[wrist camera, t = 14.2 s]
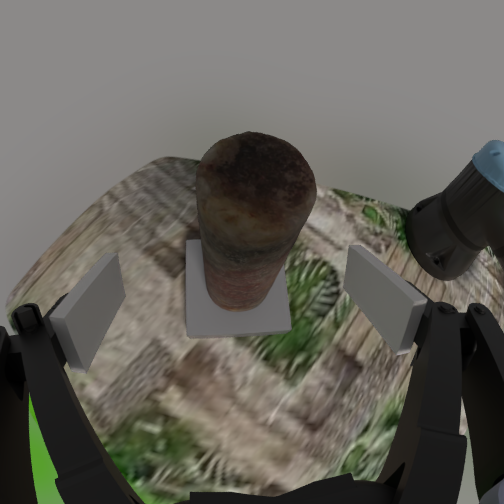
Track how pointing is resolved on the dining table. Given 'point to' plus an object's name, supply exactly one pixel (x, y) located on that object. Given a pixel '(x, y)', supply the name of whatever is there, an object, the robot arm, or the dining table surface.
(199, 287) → the stand
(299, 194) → the candle
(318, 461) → the dining table surface
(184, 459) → the dining table surface
